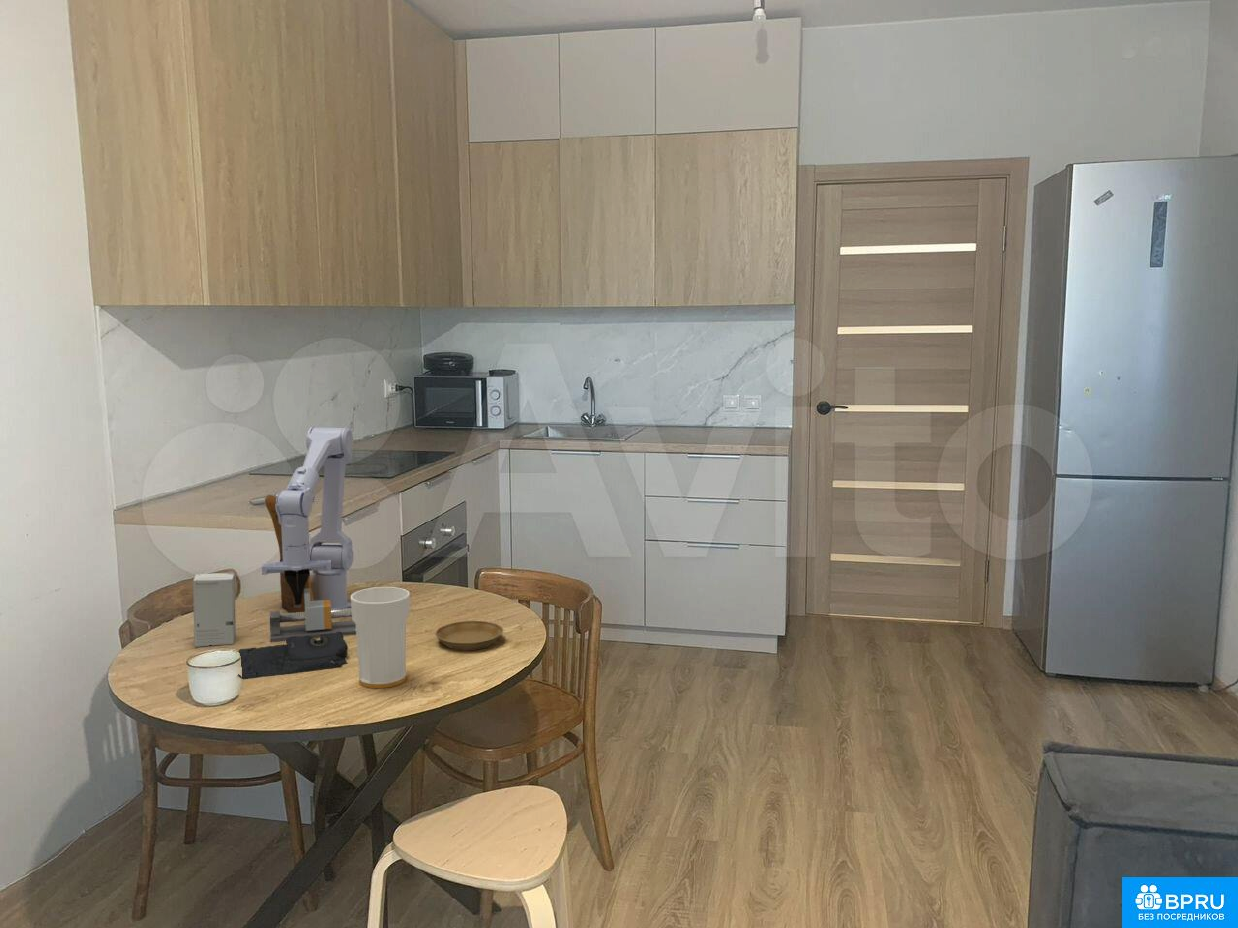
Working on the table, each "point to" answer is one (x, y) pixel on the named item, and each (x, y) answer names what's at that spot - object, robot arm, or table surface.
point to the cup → (381, 635)
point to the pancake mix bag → (286, 591)
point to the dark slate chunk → (295, 656)
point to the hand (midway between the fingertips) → (298, 602)
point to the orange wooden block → (327, 614)
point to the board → (314, 631)
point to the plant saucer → (469, 634)
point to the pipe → (299, 618)
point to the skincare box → (214, 609)
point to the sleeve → (313, 613)
